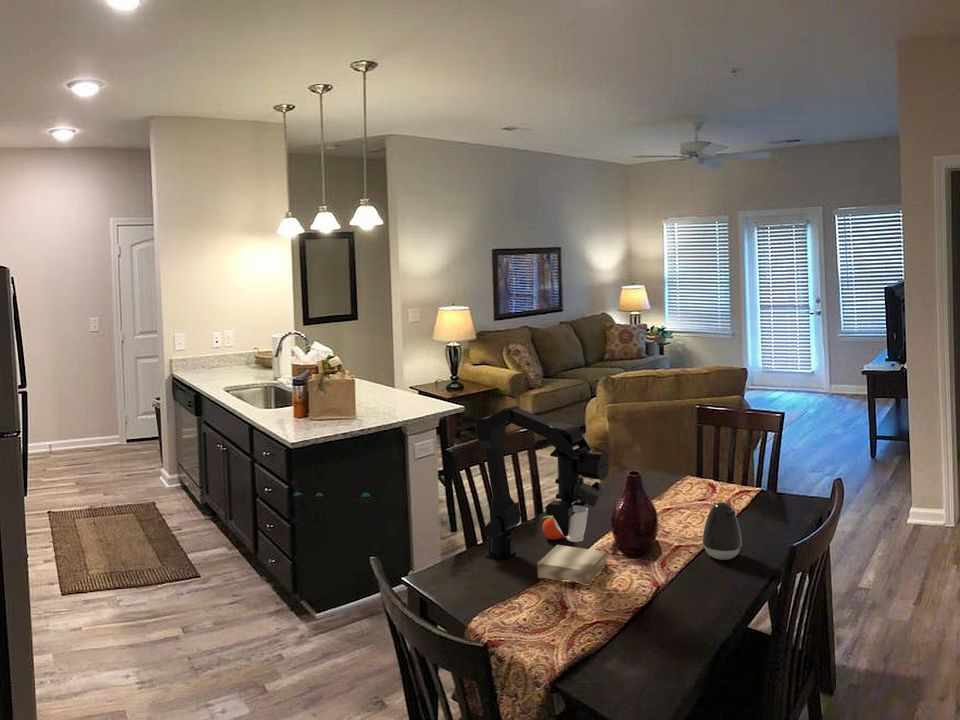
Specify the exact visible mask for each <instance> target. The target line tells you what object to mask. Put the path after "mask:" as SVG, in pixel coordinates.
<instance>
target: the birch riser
mask: <svg viewBox="0 0 960 720" xmlns="http://www.w3.org/2000/svg"><path fill="white" fill-rule="evenodd" d="M536 565H537V567H536V568H537V578H538V579H542V578H547V579H546V580H548V578H549V579H559V580H571V581H574V582H576V583H581V584H588V585H589V584H590V583H591V581H592V580H593V579H594V578H595V577H596V575H597V574H598V573H599V572H600V571H601V569H603V567H604V566H605V565H606V566H607V552H606V551H605V550H603V551H602V550H597V549H596V550H594V549H589V548H582V547H575V546H569V545H568V546H567V545H561V544H556V545H555V547H553V548H552V549H550V551H549V552H548V553H547V554H546V555H544V556H543V557H542V558H541V559H540V560H539V561H538V562H537V563H536ZM603 570H604V569H603ZM596 578H597V577H596ZM591 584H592V583H591ZM591 584H590V585H591Z"/></svg>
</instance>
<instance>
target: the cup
mask: <svg viewBox="0 0 960 720" xmlns="http://www.w3.org/2000/svg"><path fill="white" fill-rule="evenodd" d="M588 511H589V508H588V507H587V506H586V507H585V506H576V505H573V512H575V514H573V515H572V516H571V518H570V526H569V534H568V536H564V537H565V538H566V540H567V541H569V542H575V543H576V542H577V543H578V542H583V541H584V538H585V537H584V535H585V531H586V527H587V520H588V514H589V513H588ZM554 523H555V526H556V527H557V529H558V530H559V531H560V532H561V533H562V531H561V529H560V527H559V526H558V524H557V522H556V520H555V518H554ZM562 534H563V533H562Z"/></svg>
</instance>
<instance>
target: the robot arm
mask: <svg viewBox="0 0 960 720" xmlns="http://www.w3.org/2000/svg"><path fill="white" fill-rule="evenodd" d="M511 424H512V425H515V426H517V427H519V428H521V429H524V430H527V432H528V431H529V432H531V433H533V434H535V435H537V436H540V437H542V438H544V439H545V440H546V441H547V443H549V444H550V445H551V446H552V447H554V450H553V451H552V452H551V453H549V456H550V457H553V458H557V478H555V482H554V483H555V484H557V486H558V488H557V492H558V493H556V494H555V499H553V500H552V501H550V502H549V503H548V504H547V505H546V506H545V507H544V508H545V510H544V511H545V515H546V516H553V517H554V518H555V520H556V522H557V523H558V525H559V527H560V529H561V531H562V533H563V537H565V536H568V534H569V526H570V518H571V516H572V515H573V514H575V512H573V505H576V506H583V507H585V505H588V506H590V507H593V508H594V507H596V506H597V505H599V504H600V501H601V498H602V496H603V495H604V490H603V489H602V483H600V482H599V481H604V480H605V479H606V478H607V476H608V473H609V467H610V465H609V463H608V459H607V458H606V457H605V453H604V452H600V451H598V452H597V451H596V452H595V451H592V447H590V445H589V443H588V442H587V440H586V438H585V437H584V435H583V433H582V430H581V428H580V427H579V426H577V425H574V424H570V423H567V422H566V423H565V422H554V421H551V420H548V419H546V418H544V417H541V416H540V415H537V414H534V413H532V412H529V411H527V410H526V409H525V410H524V409H522V408H520V407H519V406H517V405H510V406H507V407H504V408H503V409H502V410H500V411H498V412H497V413H494V414H492V415H489V416H486V417H483V418H480V419H477V422H475V425H474V430H475V434H476V437H477V441H478V442H479V444H480V445H481V446H482V447H483V449H484V453H485V458H486V459H485V460H486V463H487V471H488V476H489V478H488V479H489V483H490V484H489V485H490V490H491V497H492V503H491V506H490V510H489V522H488V523H486V525H485V526H484V527H483V528H482V532H483V533H482V534H483V537H486V538H487V549H488V552H487V553H486V554H485V557H487V558H495V559H500V560H507V559H509V558H510V557H511V556H512V555H514V554H515V553H516V550H515V538H513V532H515V531H516V528H517V526H518V525H519V523H520V521H521V517H522V513H521V509H520V508H521V507H520V502H518V501H516V502H515V501H514V500H513V498H512V497H511V494H510V487H509V480H508V473H507V469H506V461H505V454H504V450H503V449H504V448H503V445H504V441H505V438H506V427H508V426H510V425H511ZM576 447H577V448H576ZM574 448H575V449H574ZM585 478H587V479H592V480H593V479H594V480H599V481H595V482H593V484H591V483H588V484H587V483H585V482H584V481H585Z"/></svg>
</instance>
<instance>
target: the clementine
mask: <svg viewBox="0 0 960 720" xmlns="http://www.w3.org/2000/svg"><path fill="white" fill-rule="evenodd" d="M545 518H546V519H545ZM543 519H544V521H543V523H542V532H543V534H544V536H545V537H546V538H548V539H550V540H559V539H561V538H563V537H564V535H563V534H562V533H561V532H560V531H559V530H558V529H557V527H556V526H555V523H554V517H553V515H546V516H544V517H542V519H541V520H540V521H542V520H543ZM557 524H558V523H557ZM558 526H559V525H558Z"/></svg>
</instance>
